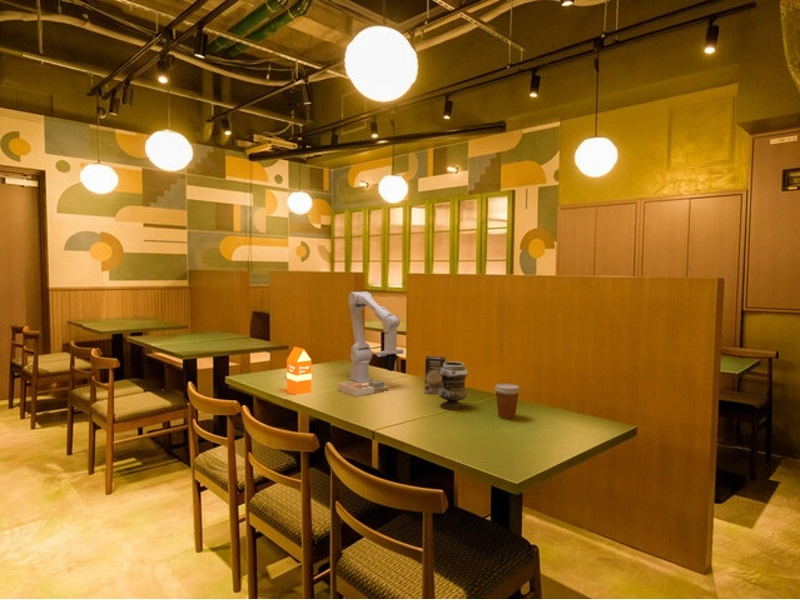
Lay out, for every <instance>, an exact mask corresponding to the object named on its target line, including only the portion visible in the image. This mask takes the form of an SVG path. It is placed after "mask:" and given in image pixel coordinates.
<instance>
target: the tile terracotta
mask: <svg viewBox="0 0 800 600" xmlns="http://www.w3.org/2000/svg"><path fill="white" fill-rule="evenodd" d="M347 386H350V387H353V388H356V389H358V390H359V389H362V384H359V383H358V382H355V383H351V384H347Z"/></svg>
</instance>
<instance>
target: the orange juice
mask: <svg viewBox="0 0 800 600" xmlns="http://www.w3.org/2000/svg"><path fill="white" fill-rule="evenodd" d="M286 391H287V392H288V391H289V392H288V393H291V394H293V393H294V394H293V395H296V394H299V395H303V393H304V394H308V393H309V392H310V393H312V358H311V357H310V355H309V354H308V353H307V351H306V350H305V349H304V348H302V347H299V346H293V349H292V350H291V352H290V353H289V356H288V357H287V358H286Z"/></svg>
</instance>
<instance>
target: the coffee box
mask: <svg viewBox="0 0 800 600" xmlns="http://www.w3.org/2000/svg"><path fill="white" fill-rule="evenodd" d="M444 362H446V357H445V356H432V355H431V356H429V355H428V356H427V355H426V356H425V362H424V363H425V366H424V367H425V368H424V388H423V389H424V391H423V392H424V394H428V395H429V394H430V395H439V394H438V390H439V389H440V387H441V385H442V377H441V376H440V374H439V370H440V369H441V368H442V367H443V363H444Z"/></svg>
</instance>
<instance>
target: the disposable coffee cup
mask: <svg viewBox="0 0 800 600" xmlns="http://www.w3.org/2000/svg"><path fill="white" fill-rule="evenodd" d="M494 390H495V394H496V396H495V398H496V405H497V406H496V407H497V416H498V417H499V418H500V417H501V418H500V419H503V418H506V419H505V420H512V419H511V418H513V419H515V418H516V412H517V408H518V407H517V406H518V400H519V394H520V391H521V389H520V386H519V385H517V384H514V383H504V382H503V383H498V384H495V388H494Z"/></svg>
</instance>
